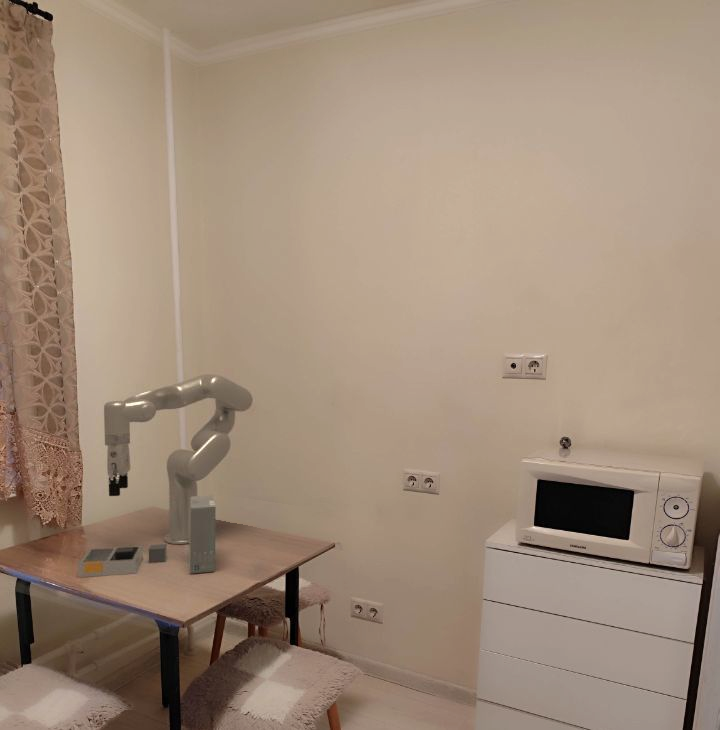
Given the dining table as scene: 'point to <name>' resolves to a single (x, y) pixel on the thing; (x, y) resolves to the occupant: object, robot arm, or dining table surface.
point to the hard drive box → (202, 534)
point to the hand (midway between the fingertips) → (118, 491)
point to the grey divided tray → (110, 561)
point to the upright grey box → (157, 553)
